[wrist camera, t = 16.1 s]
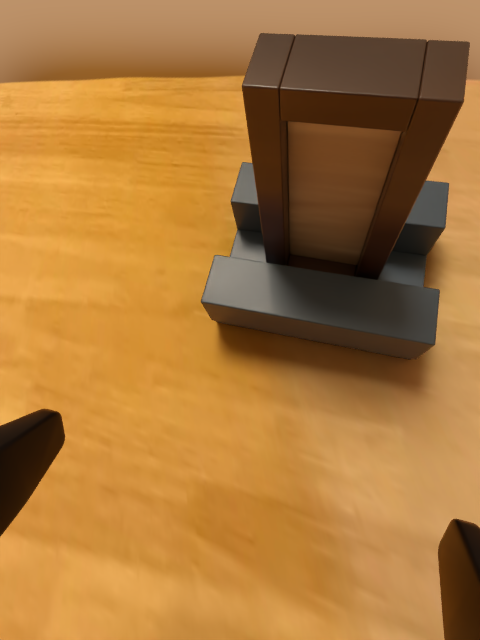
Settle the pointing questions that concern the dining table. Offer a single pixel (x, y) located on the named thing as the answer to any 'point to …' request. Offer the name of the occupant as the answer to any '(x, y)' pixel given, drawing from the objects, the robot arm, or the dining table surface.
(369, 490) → the dining table surface
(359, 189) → the frame
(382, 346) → the holder
